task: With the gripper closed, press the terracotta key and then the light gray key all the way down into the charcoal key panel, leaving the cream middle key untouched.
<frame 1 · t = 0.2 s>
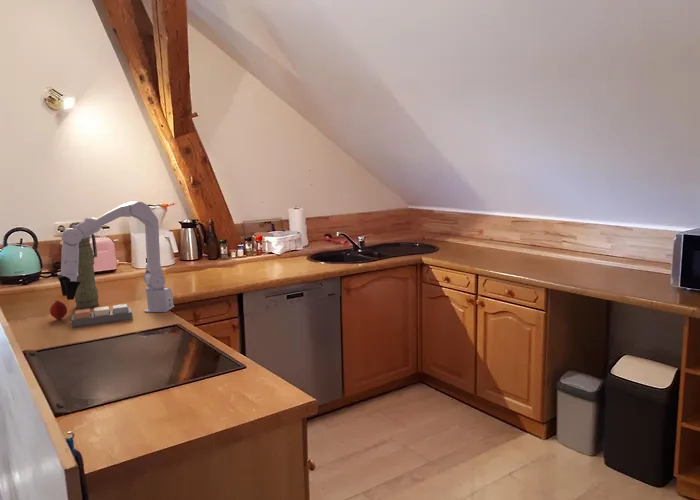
hand: (68, 297, 212), 10 cm above the worktop, tool pointing down, fingers open, 7 cm apart
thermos: (87, 306, 240), on the worktop
key panel: (102, 321, 216), on the worktop
cream key: (101, 312, 216), point 4 cm above the worktop, slide at 0.0 cm
terracotta key: (82, 314, 213), point 4 cm above the worktop, slide at 0.0 cm
onion: (59, 320, 221), on the worktop
light gray key: (120, 309, 218), point 4 cm above the worktop, slide at 0.0 cm
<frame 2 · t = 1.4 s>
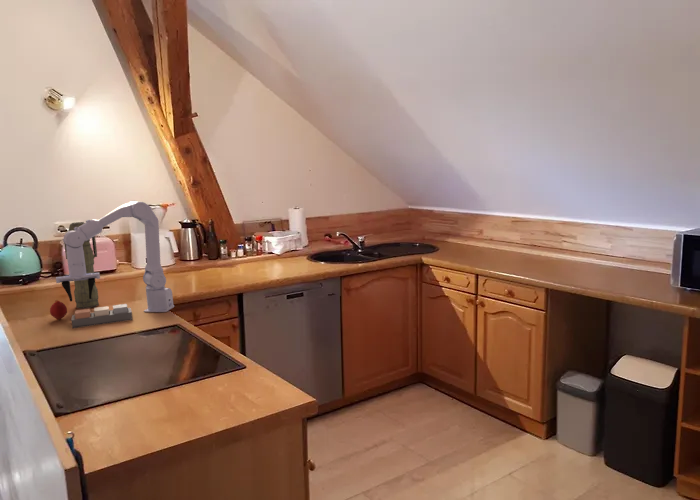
hand: (80, 299, 212), 9 cm above the worktop, tool pointing down, fingers open, 6 cm apart
nothing on the worktop moved.
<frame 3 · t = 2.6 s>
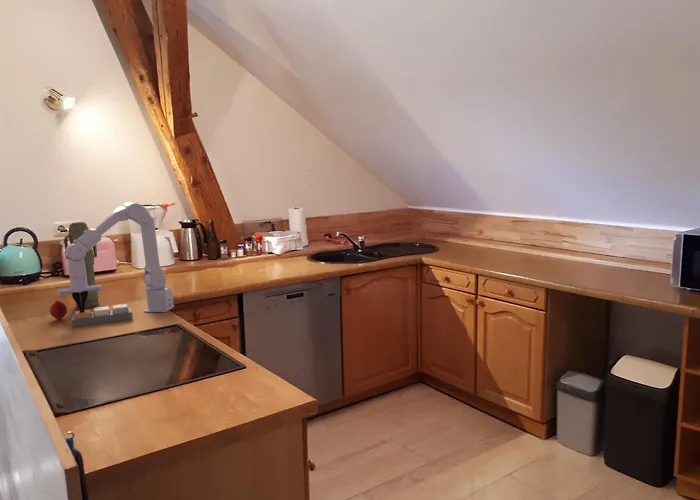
hand: (82, 312, 213), 5 cm above the worktop, tool pointing down, fingers closed, pressing on terracotta key
terracotta key: (83, 315, 213), point 3 cm above the worktop, slide at 0.3 cm, touching gripper
everything else where it was.
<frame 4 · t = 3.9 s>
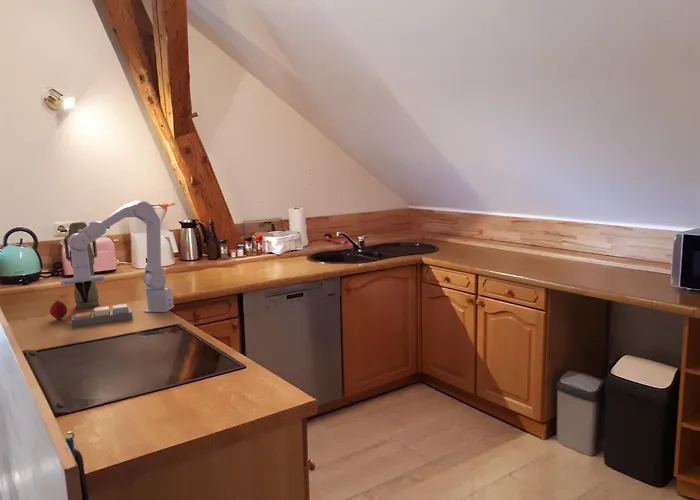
hand: (85, 302, 213), 8 cm above the worktop, tool pointing down, fingers closed
terracotta key: (83, 318, 213), point 2 cm above the worktop, slide at 1.3 cm
everything else where it was.
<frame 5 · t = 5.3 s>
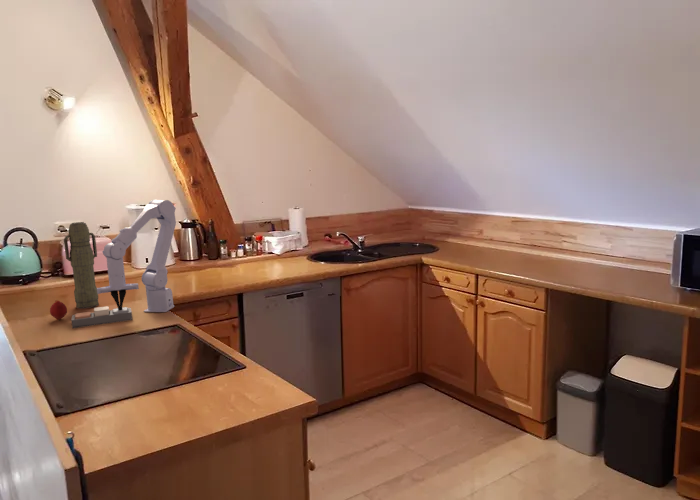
hand: (120, 309, 218), 4 cm above the worktop, tool pointing down, fingers closed, pressing on light gray key
light gray key: (120, 312, 218), point 2 cm above the worktop, slide at 1.3 cm, touching gripper
everything else where it was.
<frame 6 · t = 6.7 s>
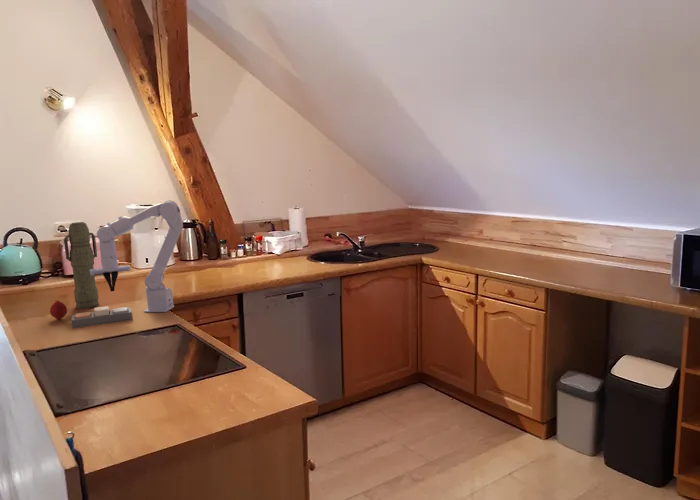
hand: (112, 290, 225), 9 cm above the worktop, tool pointing down, fingers closed
light gray key: (120, 313, 218), point 2 cm above the worktop, slide at 1.3 cm
everything else where it was.
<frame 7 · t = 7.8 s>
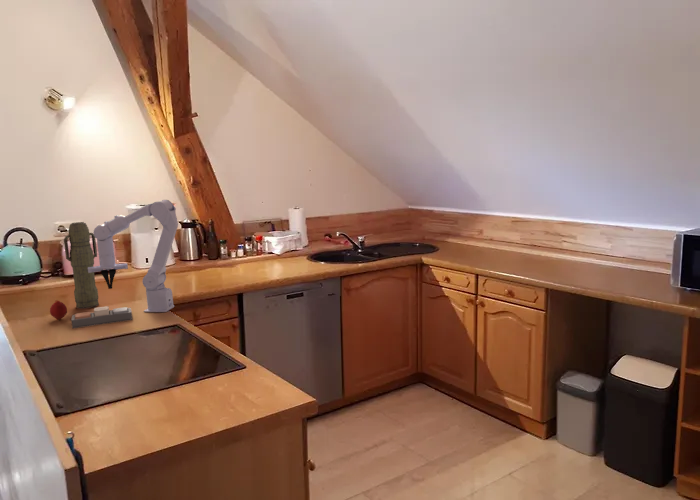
hand: (110, 288, 229), 9 cm above the worktop, tool pointing down, fingers closed
nothing on the worktop moved.
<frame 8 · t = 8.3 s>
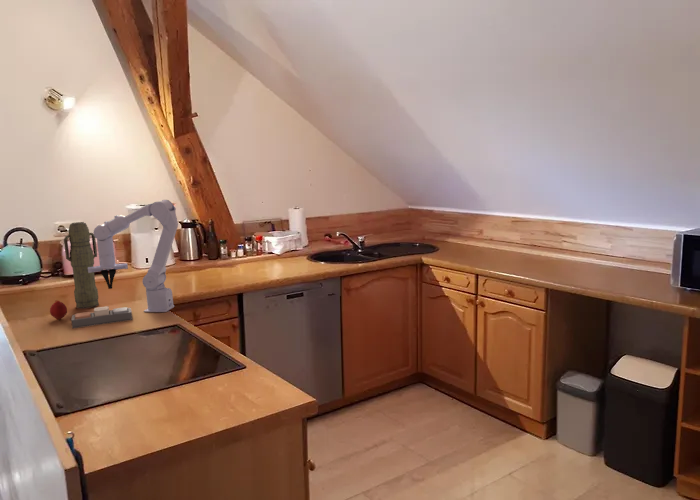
hand: (110, 288, 229), 9 cm above the worktop, tool pointing down, fingers closed
nothing on the worktop moved.
at the end: terracotta key slide at 1.3 cm; light gray key slide at 1.3 cm; cream key slide at 0.0 cm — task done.
